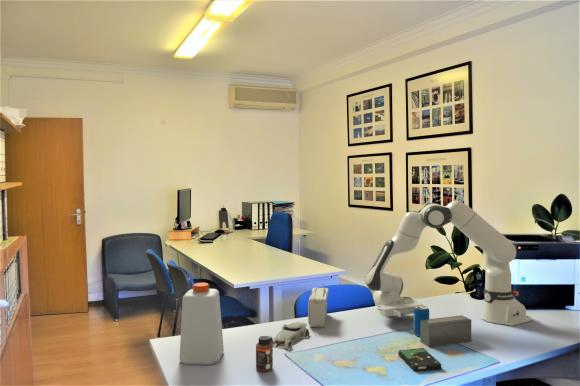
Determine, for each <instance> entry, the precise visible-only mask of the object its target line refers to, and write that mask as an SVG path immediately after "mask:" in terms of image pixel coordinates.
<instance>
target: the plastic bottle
mask: <svg viewBox="0 0 580 386" xmlns="http://www.w3.org/2000/svg"><path fill="white" fill-rule="evenodd" d="M181 305H182V306H181V322H180V323H181V324H180V341H179V343H180V345H179V361H180V362H181V363H182V364H184V365H191V366H193V365H194V366H195V365H197V366H198V365H201V366H202V365H204V366H205V365H209V366H211V365H214V364H216V363H219V361H220V360H221V357H222V355H223V353H224V349H225V348H224V336H223V335H224V334H223V323H222V314H221V313H222V311H221V302H220V291H219V290H218V289H216V288H210V283H207V282H196V283H193V285H192V288H191V289H189V290H188V291H187V292H185V294H184V295H183V296H182V304H181Z"/></svg>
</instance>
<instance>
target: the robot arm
mask: <svg viewBox="0 0 580 386" xmlns="http://www.w3.org/2000/svg"><path fill="white" fill-rule="evenodd" d="M450 223H451V225H453V226H455V228H457V229H458V230H459V231H460V232H461V233H463V235H465V236H466V237H467V238H468V239H469V240H470V241H471V242H473V243H474V244H475V246H477V247H478V248H479V249H480V250H482V251H483V262H484V263H483V264H484V272H485V275H484V277H485V278H484V279H485V281H484V282H485V283H484V289H483V296H484V300H483V301H484V302H483V309H482V313H481V315H480V318H481V319H482V320H483V321H485V322H488V323H492V324H497V325H505V326H506V325H507V326H517V325H520V324H525V323H528V322H533V319H532V318H533V317H530V316H529V315H527V310H526V307H525V305H524V304H523V303H521V302H519V300H517V299H516V298H515V296H516V297H517V296H519V295H520V294H519V291H517V290H512V271H511V268H510V263H511V262H512V261H513V260H515V258H516V256H517V249H516V247H515V245H514V244H513V242H511V241H510V239H508V238H507V237H506V236H505V235H504V234H502V233H501V232H500V231H499V230H497V229H496V228H495V227H494V226H492V225H491V224H490V223H489V222H488V221H487V220H485V219H484V218H483V217H481V215H480V214H478V213H477V211H475V210H473V209H472V207H470V206H469V205H467V204H466V203H464V202H462V201H460V200H457V199H456V200H453V201H450V202H449V203H447V205H445V206H443V205H441V204H439V203H436V202H430V203H427V204H426V205H424V206H423V207H421V209H419V210H418V211H411V210H410V211H408V212H406V213H405V214H404V216H403V217H402V218H401V221H400V223H399V225H398V227H397V229H396V230H397V231H396V232H395V234H394V236H393V237H392V238H391V239H389V240H386V242H385V243H384V244H383V247H382V248H381V250H380V252H379V253H378V256H377V258H376V259H375V261H374V263H373V265H372V266H371V268H370V269H369V270H368V272H367V273H366V276H365V279H364V282H365V285H366V286H367V288H368V289H369V290H370V291H373V295H372V298H373V301H374V303H375V305H377V307H376V310H378V311H379V312H380V314H381V315H382V316H383V317H399V318H402V317H403V316H404V315H411V314H412V315H414V308H415V306H416V305H424V304H423V303H421V302H419V301H418V300H415V299H413V298H412V297H411V296H401V294H402V292H403V289H404V281H403V279H402V277H401V276H400V275H399V274H396V273H391V272H386V271H384V270H385V269H386V266H387V264H388V262H389V261H390V259H391V258H392V257H393V256H396V255H399V254H404V253H405V254H406V253H409V252H411V251H413V250H414V249H416V247H417V246H418V244H419V241H420V239H421V236H422V233H423V231H424V229H425V228H427V227H429V228H432V229H440V228H442V227H444V226H446V225H448V224H450Z"/></svg>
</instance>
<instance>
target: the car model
mask: <svg viewBox="0 0 580 386" xmlns="http://www.w3.org/2000/svg"><path fill="white" fill-rule="evenodd" d="M307 325H308V324H307V323H305V322H299V321H298V322H292V323H289V324H283V326H282V329H281V331H279V332H278V334H276V336H274V338H273V337H272V335H267V336H268V337H270V342H271V343H272V345H273V348H277V349H279V350H289V349H291V348H292V346H293V345H294V344H296V343H297V342H298V341H300V340H301V339H305V338H307V337H308V336H309V333H310V331H309V328H307V327H308V326H307Z"/></svg>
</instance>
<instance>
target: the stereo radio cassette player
mask: <svg viewBox="0 0 580 386" xmlns="http://www.w3.org/2000/svg"><path fill="white" fill-rule="evenodd" d="M329 290H330V289H329V288H328V287H325V285H324V284H322V287H312V289H311V292H310V295H309V298H308V303H307V305H308V306H307V320H308V321H307V322H308V326H310V327H312V328H313V327H315V328H316V327H317V328H318V327H319V328H324V327H325V325H326V320H327V319H326V318H327V313H328V294H329Z"/></svg>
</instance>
